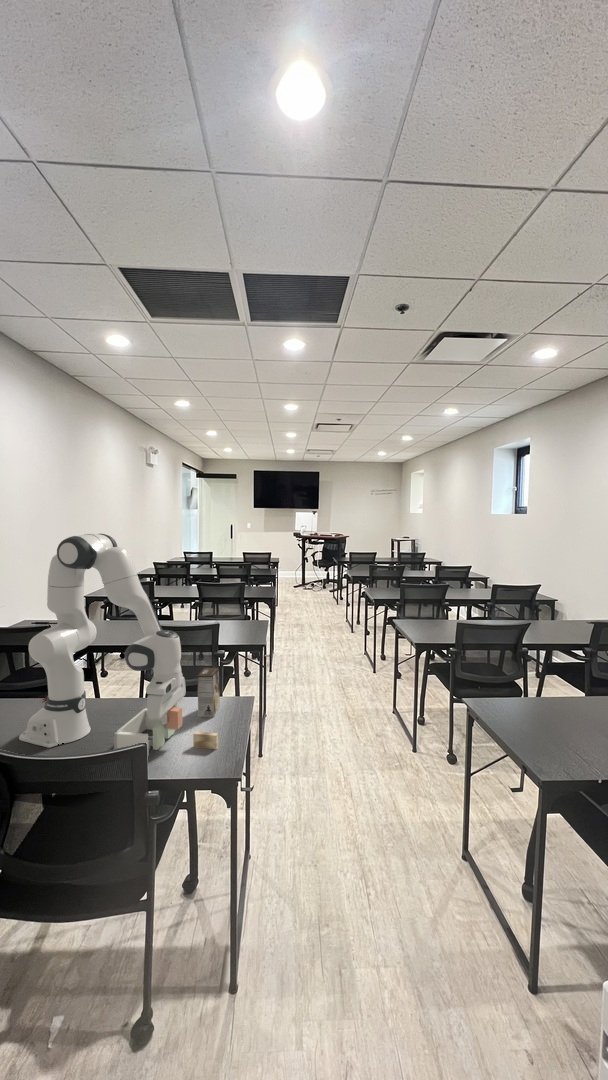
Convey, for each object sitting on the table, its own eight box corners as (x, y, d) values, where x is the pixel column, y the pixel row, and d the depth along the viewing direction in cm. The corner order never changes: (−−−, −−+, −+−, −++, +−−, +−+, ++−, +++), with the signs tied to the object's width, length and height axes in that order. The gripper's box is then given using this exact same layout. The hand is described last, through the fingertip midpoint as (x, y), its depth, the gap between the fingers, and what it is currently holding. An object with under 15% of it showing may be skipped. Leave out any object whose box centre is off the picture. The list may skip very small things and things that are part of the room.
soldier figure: (137, 752, 147) (149, 725, 158) (149, 760, 148) (160, 732, 159) (152, 739, 145) (162, 712, 156) (164, 747, 146) (174, 720, 157)
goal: (114, 754, 143) (113, 733, 143) (145, 726, 162) (145, 708, 162) (146, 758, 142) (145, 736, 141) (173, 729, 160) (173, 710, 160)
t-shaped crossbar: (153, 749, 145) (152, 716, 144) (170, 731, 157) (170, 700, 156) (172, 751, 144) (171, 717, 143) (188, 733, 155) (187, 702, 155)
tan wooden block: (193, 747, 148) (193, 733, 148) (195, 744, 150) (195, 731, 149) (216, 749, 147) (216, 735, 146) (218, 746, 148) (218, 733, 148)
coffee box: (204, 706, 179) (203, 667, 178) (220, 707, 179) (219, 667, 178) (197, 717, 170) (197, 675, 169) (214, 717, 169) (213, 675, 169)
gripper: (173, 668, 160) (173, 706, 161) (142, 690, 140) (143, 734, 141) (190, 669, 159) (190, 707, 160) (161, 692, 139) (162, 735, 139)
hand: (168, 720), depth 150 cm, fingers closed on t-shaped crossbar, 3 cm apart
